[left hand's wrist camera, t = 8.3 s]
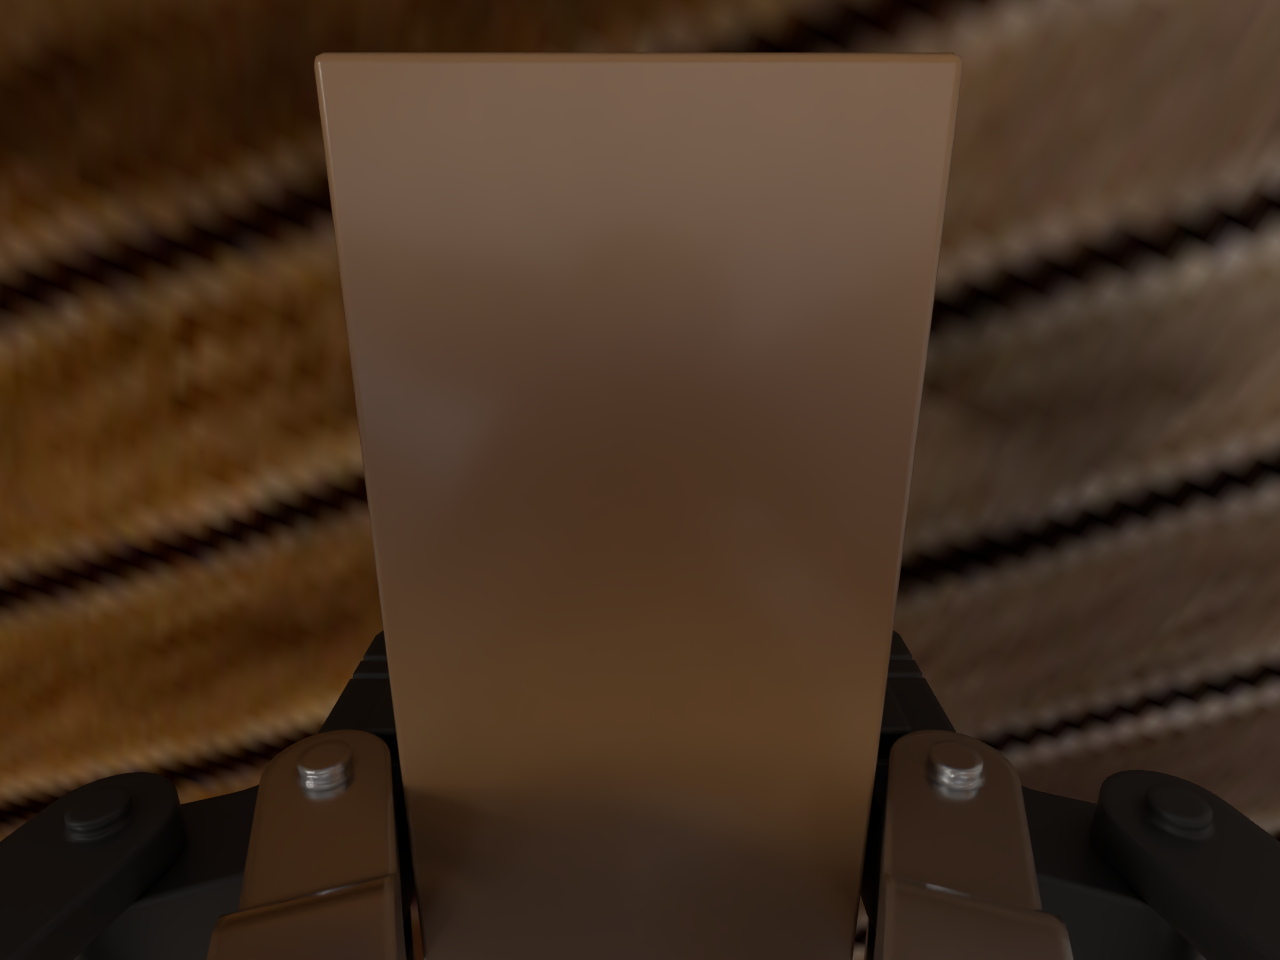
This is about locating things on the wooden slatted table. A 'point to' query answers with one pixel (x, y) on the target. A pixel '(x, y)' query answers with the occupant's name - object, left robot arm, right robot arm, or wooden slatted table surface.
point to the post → (638, 475)
